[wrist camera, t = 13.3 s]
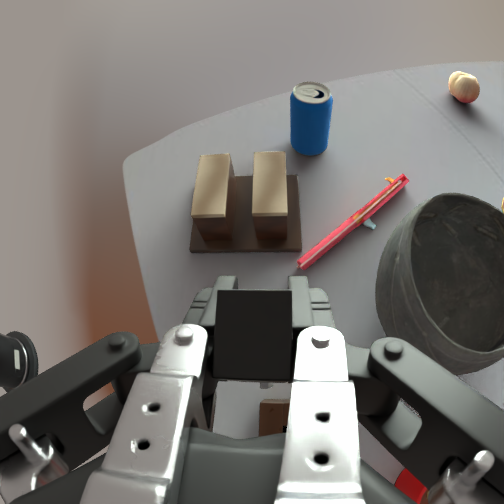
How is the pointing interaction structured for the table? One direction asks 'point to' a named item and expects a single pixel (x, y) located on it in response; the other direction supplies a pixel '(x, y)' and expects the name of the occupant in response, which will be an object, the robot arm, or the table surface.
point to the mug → (412, 487)
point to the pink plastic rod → (353, 222)
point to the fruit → (464, 87)
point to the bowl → (446, 282)
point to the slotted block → (245, 206)
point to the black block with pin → (253, 336)
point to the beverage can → (310, 117)
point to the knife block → (273, 416)
